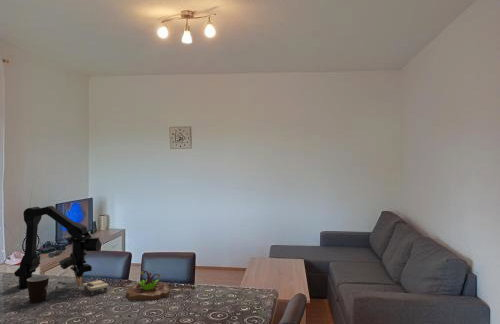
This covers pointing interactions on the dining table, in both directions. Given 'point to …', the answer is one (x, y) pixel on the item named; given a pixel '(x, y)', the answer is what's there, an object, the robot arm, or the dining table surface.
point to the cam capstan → (66, 285)
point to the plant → (148, 289)
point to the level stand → (93, 286)
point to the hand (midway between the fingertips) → (78, 281)
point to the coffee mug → (37, 288)
